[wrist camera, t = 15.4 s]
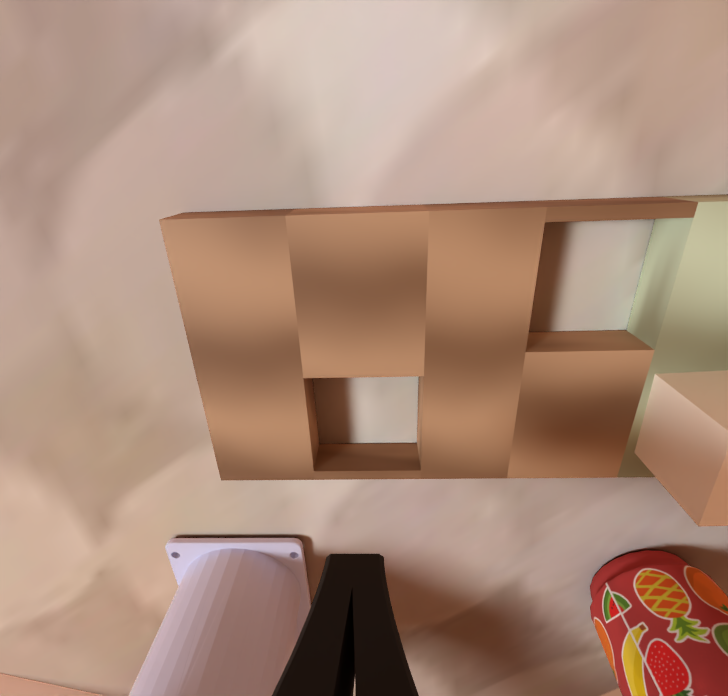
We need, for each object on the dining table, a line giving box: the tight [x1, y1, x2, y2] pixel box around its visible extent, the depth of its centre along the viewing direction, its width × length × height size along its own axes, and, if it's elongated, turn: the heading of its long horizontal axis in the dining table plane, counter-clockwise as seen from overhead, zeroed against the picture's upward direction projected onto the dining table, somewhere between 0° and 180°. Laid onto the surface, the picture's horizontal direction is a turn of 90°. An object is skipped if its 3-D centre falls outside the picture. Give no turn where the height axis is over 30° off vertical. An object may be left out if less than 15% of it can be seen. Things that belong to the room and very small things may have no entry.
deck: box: [159, 194, 728, 480], centre depth 16 cm, size 12×24×4 cm, turn 92°
